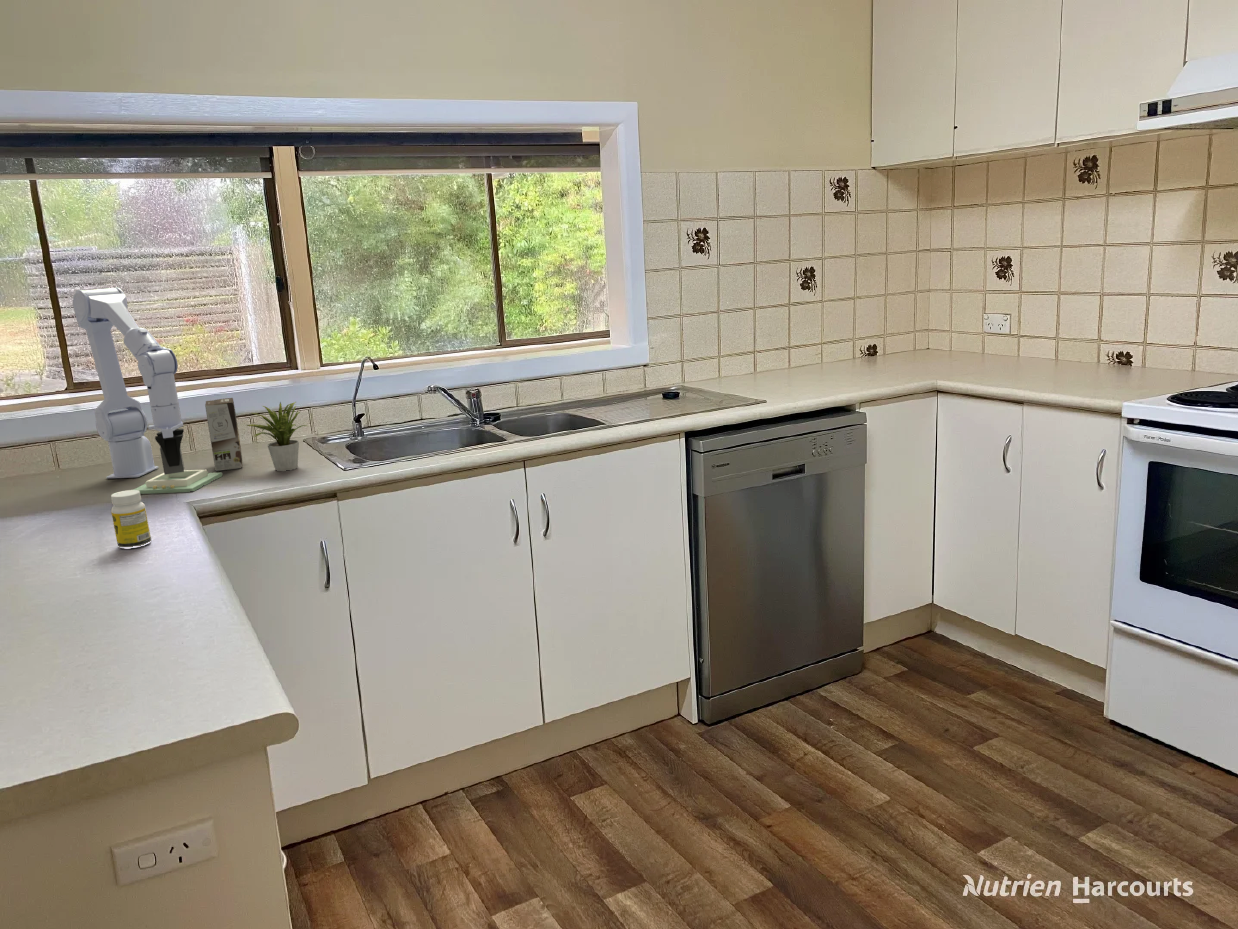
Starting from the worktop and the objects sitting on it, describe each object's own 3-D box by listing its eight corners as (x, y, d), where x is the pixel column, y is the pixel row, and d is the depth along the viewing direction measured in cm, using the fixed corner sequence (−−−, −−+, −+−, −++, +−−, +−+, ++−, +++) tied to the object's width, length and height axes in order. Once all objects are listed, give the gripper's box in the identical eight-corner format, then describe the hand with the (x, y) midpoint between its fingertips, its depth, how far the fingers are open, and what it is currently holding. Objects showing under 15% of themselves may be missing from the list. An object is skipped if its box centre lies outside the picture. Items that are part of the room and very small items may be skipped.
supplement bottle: (120, 543, 172) (110, 491, 169) (153, 538, 174) (144, 487, 171) (116, 552, 167) (105, 499, 164) (150, 547, 169) (140, 494, 166)
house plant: (272, 461, 233) (262, 395, 229) (326, 459, 231) (317, 393, 227) (244, 475, 219) (234, 406, 215) (302, 474, 217) (292, 404, 214)
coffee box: (243, 468, 227) (233, 402, 223) (214, 471, 225) (204, 405, 221) (243, 460, 235) (233, 396, 231) (215, 464, 233) (205, 399, 229)
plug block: (165, 470, 214) (160, 445, 213) (184, 468, 215) (179, 442, 214) (164, 474, 210) (159, 448, 209) (184, 471, 212) (179, 445, 210)
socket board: (164, 478, 221) (163, 469, 220) (222, 475, 220) (221, 466, 220) (131, 494, 207) (129, 484, 207) (193, 491, 207) (191, 482, 206)
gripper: (146, 402, 214) (156, 460, 218) (142, 411, 201) (153, 472, 205) (180, 398, 217) (190, 455, 220) (178, 407, 204) (188, 468, 207)
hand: (174, 463), depth 213 cm, fingers closed on plug block, 4 cm apart
